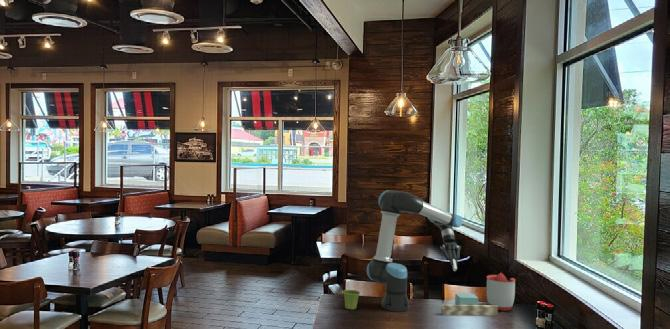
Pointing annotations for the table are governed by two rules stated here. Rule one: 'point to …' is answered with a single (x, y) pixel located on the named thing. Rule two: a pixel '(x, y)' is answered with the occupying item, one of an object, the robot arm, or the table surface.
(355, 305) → the plant pot
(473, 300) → the teal block
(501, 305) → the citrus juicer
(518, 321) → the table surface
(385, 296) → the robot arm
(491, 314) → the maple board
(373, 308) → the table surface
